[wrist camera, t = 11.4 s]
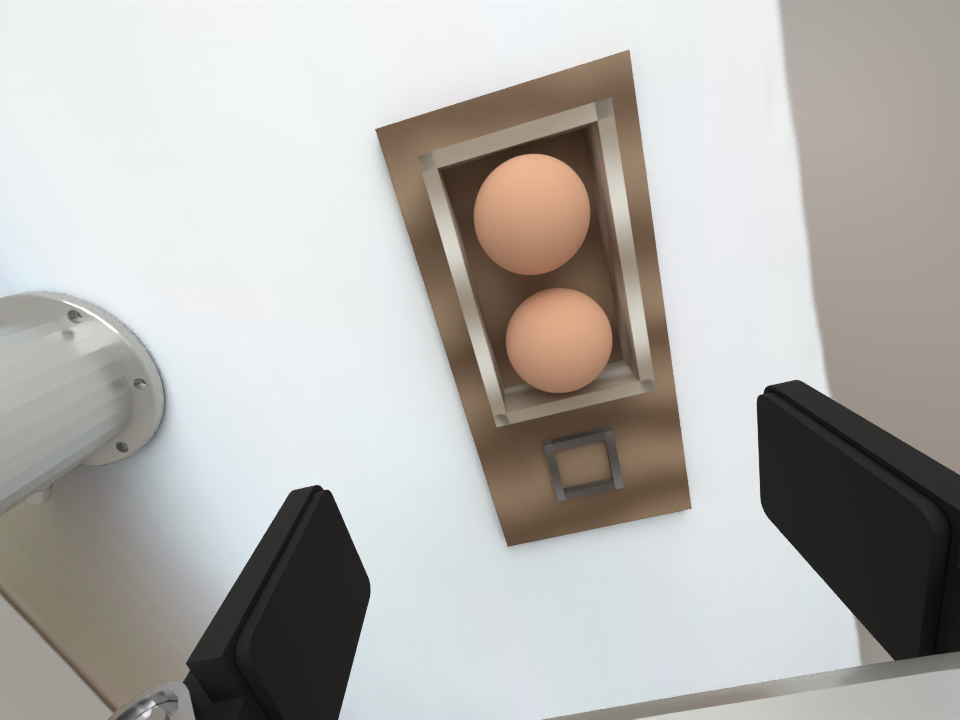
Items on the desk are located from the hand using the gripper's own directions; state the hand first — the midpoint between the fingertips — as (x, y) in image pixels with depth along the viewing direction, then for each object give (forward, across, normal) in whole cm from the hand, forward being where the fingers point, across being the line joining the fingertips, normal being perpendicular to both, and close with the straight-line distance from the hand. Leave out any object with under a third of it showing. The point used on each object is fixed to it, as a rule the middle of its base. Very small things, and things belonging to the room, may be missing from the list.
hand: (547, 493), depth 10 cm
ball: (+17, -2, -4) cm, 17 cm away
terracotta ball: (+17, -3, +3) cm, 17 cm away
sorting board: (+21, -3, +4) cm, 21 cm away
